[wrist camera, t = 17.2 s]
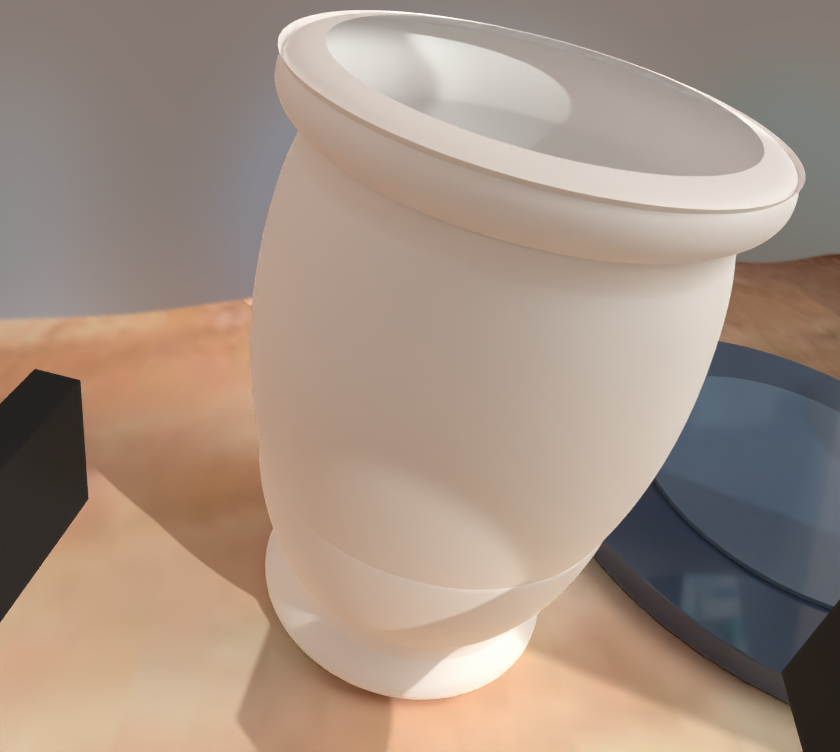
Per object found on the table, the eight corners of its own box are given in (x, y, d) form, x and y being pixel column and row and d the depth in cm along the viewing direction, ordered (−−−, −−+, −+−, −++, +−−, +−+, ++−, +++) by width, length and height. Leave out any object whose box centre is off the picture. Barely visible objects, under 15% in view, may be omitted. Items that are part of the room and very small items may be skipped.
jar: (200, 476, 25) (226, -22, 17) (478, 444, 30) (612, 32, 21) (275, 796, 18) (390, 191, 9) (633, 692, 22) (940, 209, 14)
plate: (788, 341, 42) (799, 323, 41) (1181, 660, 28) (1208, 640, 27) (461, 366, 34) (467, 343, 33) (782, 835, 20) (806, 813, 19)
